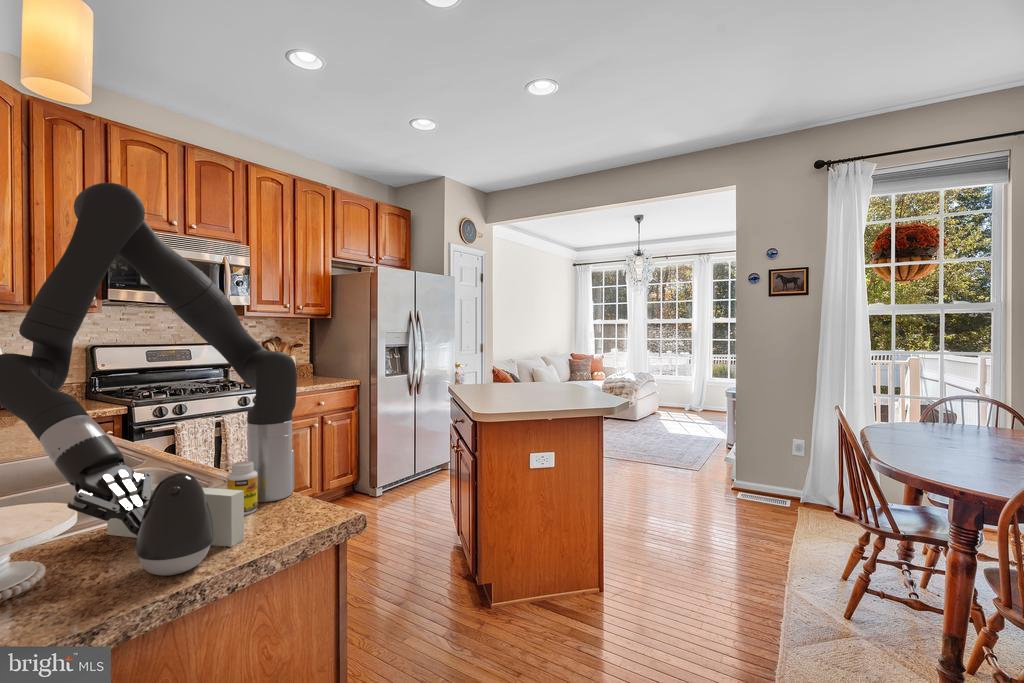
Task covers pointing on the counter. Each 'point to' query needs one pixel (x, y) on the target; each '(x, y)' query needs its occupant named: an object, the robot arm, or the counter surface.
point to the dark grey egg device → (175, 526)
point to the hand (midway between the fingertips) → (145, 530)
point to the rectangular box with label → (223, 513)
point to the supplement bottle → (244, 484)
